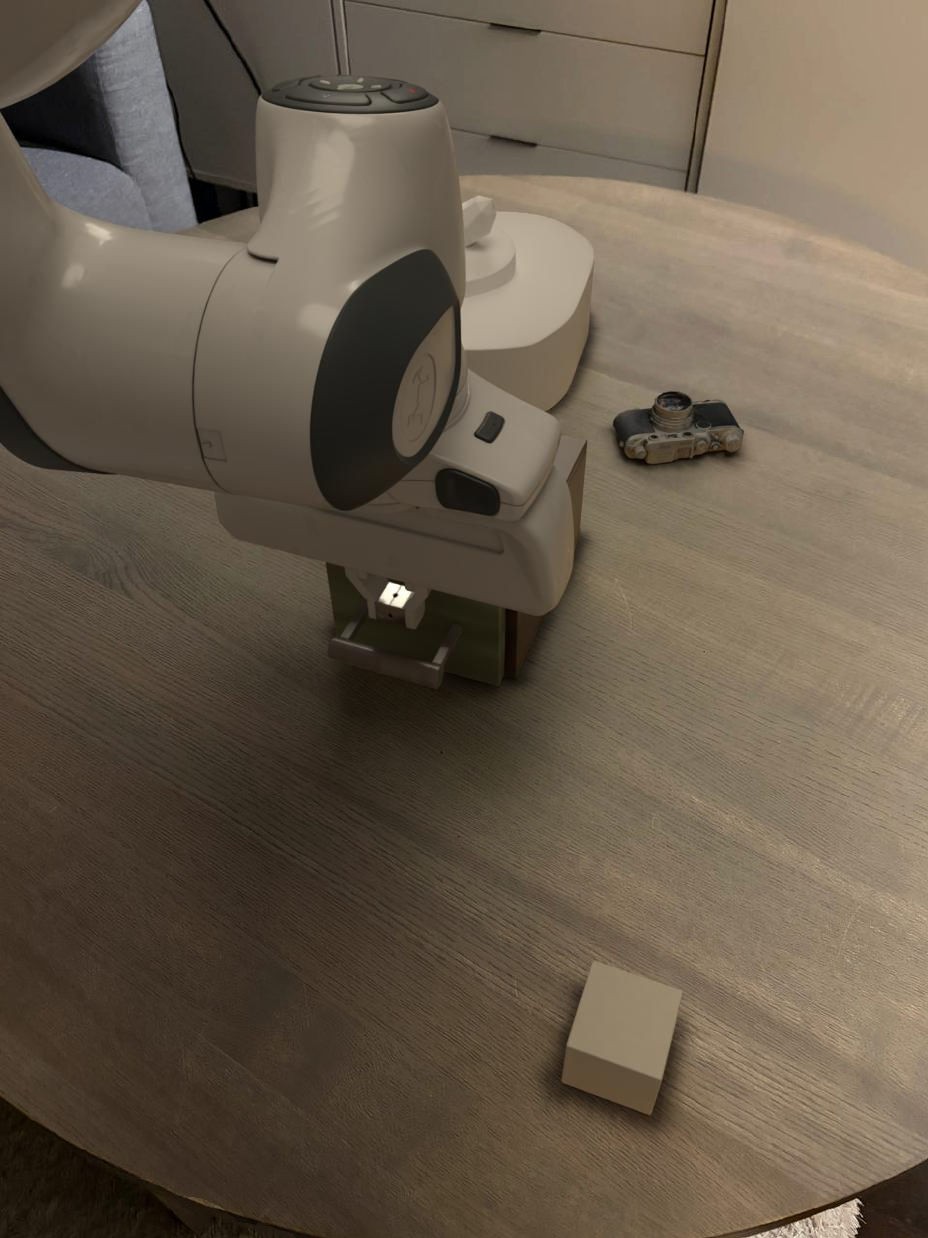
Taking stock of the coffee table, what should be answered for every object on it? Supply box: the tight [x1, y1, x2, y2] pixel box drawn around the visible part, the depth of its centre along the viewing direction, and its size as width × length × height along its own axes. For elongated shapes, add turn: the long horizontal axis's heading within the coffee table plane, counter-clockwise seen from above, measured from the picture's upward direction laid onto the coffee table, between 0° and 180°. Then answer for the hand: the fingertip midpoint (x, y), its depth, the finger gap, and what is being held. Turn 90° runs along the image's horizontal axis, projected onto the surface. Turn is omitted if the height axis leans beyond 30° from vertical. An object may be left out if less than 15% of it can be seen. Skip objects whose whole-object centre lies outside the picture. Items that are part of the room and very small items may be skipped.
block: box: [561, 960, 684, 1116], centre depth 49 cm, size 4×4×4 cm
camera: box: [612, 390, 745, 466], centre depth 84 cm, size 5×10×4 cm, turn 98°
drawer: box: [325, 562, 506, 690], centre depth 68 cm, size 18×11×7 cm, turn 159°
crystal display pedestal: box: [461, 195, 595, 412], centre depth 91 cm, size 25×25×16 cm
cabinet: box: [503, 434, 588, 680], centre depth 71 cm, size 15×13×9 cm
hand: (397, 616), depth 62 cm, fingers closed
